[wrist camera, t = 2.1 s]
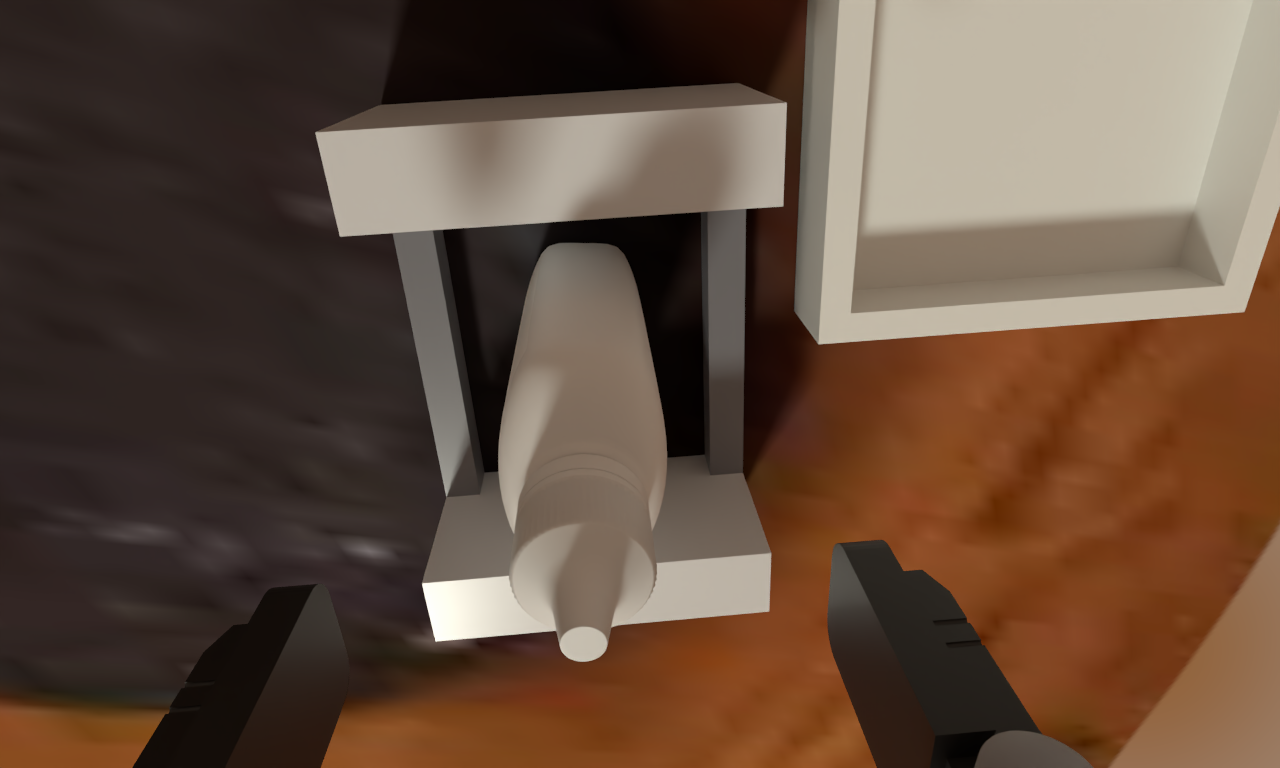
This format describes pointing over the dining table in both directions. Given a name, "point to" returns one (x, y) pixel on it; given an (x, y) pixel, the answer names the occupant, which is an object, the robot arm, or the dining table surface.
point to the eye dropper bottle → (582, 448)
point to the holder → (553, 192)
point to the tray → (1033, 163)
